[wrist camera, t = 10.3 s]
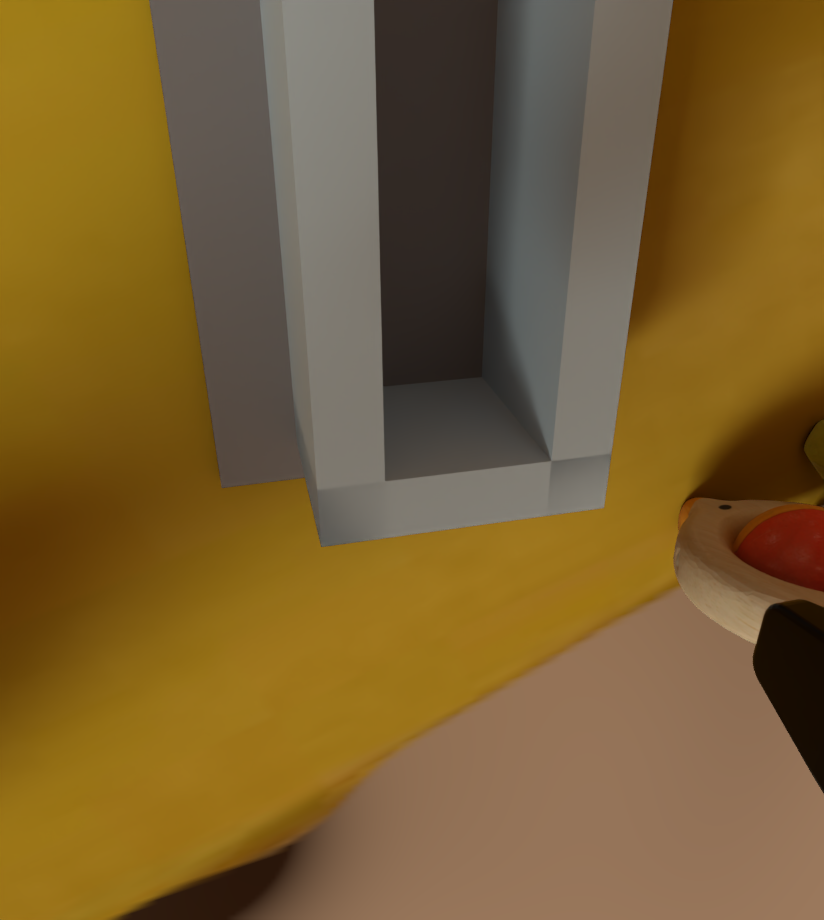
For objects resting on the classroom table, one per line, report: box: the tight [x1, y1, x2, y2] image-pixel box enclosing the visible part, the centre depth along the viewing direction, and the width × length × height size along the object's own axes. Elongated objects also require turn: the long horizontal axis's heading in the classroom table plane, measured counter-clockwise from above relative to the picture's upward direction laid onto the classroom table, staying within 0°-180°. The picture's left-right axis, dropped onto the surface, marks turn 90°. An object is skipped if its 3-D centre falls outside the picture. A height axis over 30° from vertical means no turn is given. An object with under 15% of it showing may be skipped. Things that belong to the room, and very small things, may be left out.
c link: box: [260, 0, 673, 547], centre depth 15 cm, size 13×6×4 cm, turn 0°
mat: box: [149, 0, 498, 488], centre depth 16 cm, size 16×10×1 cm, turn 0°
